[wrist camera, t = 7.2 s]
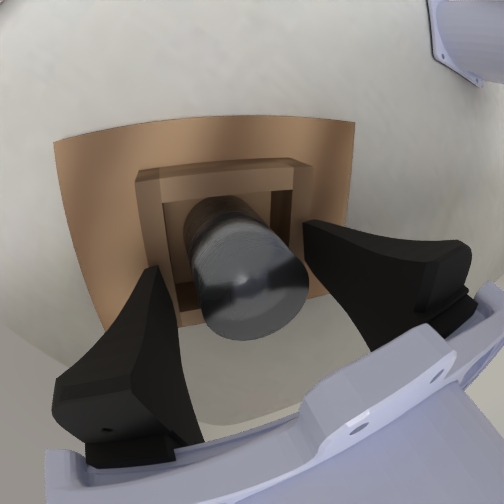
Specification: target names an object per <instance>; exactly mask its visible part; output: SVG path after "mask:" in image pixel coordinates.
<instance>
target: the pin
mask: <svg viewBox="0 0 504 504" xmlns="http://www.w3.org/2000/svg"><path fill="white" fill-rule="evenodd" d="M183 239H184V244H185V248H186V252H187V256H188V261H189V265H190V269H191V273H192V277H193V281H194V285H195V289H196V293H197V297H198V300H199V304H200V308H201V312H202V315H203V318H204V320H205V322H206V324H207V325H208V327H209V328H210V329H211V330H212V331H214V332H215V333H216V334H218V335H220V336H222V337H224V338H227V339H231V340H238V341H246V340H254V339H258V338H262V337H265V336H267V335H270V334H272V333H274V332H276V331H278V330H279V329H281V328H282V327H284V326H285V325H287V324H288V323H289V322H290V321H291V320H292V319H293V318H294V317H295V316H296V315H297V314H298V312H299V311H300V309H301V308H302V306H303V305H304V303H305V301H306V298H307V295H308V291H309V276H308V272H307V270H306V267H305V266H304V264H303V263H302V262H301V261H300V259H299V258H298V257H297V256H296V255H295V254H294V253H293V252H292V251H291V250H290V249H289V247H288V246H287V245H286V244H285V243H284V242H283V241H282V240H281V239H280V238H279V237H278V236H277V235H276V233H275V232H274V231H273V230H272V229H271V228H270V227H269V226H268V225H267V224H266V223H265V222H264V221H263V220H262V219H261V217H260V216H259V215H258V214H257V213H256V212H255V211H254V210H253V209H252V208H251V207H250V206H249V205H248V204H247V203H246V202H245V201H244V200H242V199H240V198H238V197H236V196H233V195H224V196H214V197H207V198H205V199H203V200H202V201H200V202H199V203H197V204H196V205H195V206H194V207H193V208H192V209H191V210H190V212H189V213H188V215H187V217H186V219H185V222H184V225H183Z"/></svg>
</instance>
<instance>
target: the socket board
mask: <svg viewBox="0 0 504 504" xmlns="http://www.w3.org/2000/svg"><path fill="white" fill-rule="evenodd" d="M354 133H355V122H348V121H340V120H331V119H320V118H308V117H291V116H213V117H196V118H184V119H173V120H164V121H156V122H148V123H141V124H134V125H128V126H122V127H117V128H111V129H106V130H101V131H96V132H92V133H87V134H83V135H79V136H75V137H71V138H67V139H63V140H59V141H56V142H53V144H54V152H55V160H56V167H57V173H58V179H59V185H60V190H61V196H62V201H63V205H64V210H65V214H66V218H67V222H68V226H69V230H70V234H71V238H72V241H73V245H74V248H75V252H76V255H77V258H78V262H79V265H80V268H81V271H82V274H83V277H84V280H85V283H86V285H87V288H88V291H89V294H90V296H91V299H92V301H93V304H94V307H95V309H96V312H97V314H98V316H99V319H100V321H101V323H102V326H103V328H104V330H105V332H106V331H107V330H108V329H109V327H110V326H111V325H112V323H113V322H114V321H115V319H116V318H117V316H118V315H119V313H120V312H121V310H122V308H123V307H124V305H125V303H126V302H127V300H128V299H129V297H130V295H131V293H132V291H133V290H134V288H135V286H136V284H137V282H138V280H139V278H140V276H141V274H142V273H143V271H144V269H146V268H149V267H152V266H155V265H158V266H159V269H160V271H161V274H162V277H163V279H164V282H165V284H166V287H167V289H168V291H169V294H170V296H171V299H172V301H173V305H174V310H175V314H176V319H177V327H178V328H179V327H185V326H190V325H196V324H202V323H206V322H205V320H204V318H203V315H202V312H201V308H200V304H199V300H198V297H197V293H196V289H195V285H194V281H193V277H192V273H191V269H190V265H189V261H188V256H187V252H186V248H185V244H184V239H183V225H184V222H185V219H186V217H187V215H188V213H189V212H190V210H191V209H192V208H193V207H194V206H195V205H196V204H197V203H199V202H200V201H202V200H203V199H205V198H207V197H214V196H224V195H233V196H236V197H238V198H240V199H242V200H244V201H245V202H246V203H247V204H248V205H249V206H250V207H251V208H252V209H253V210H254V211H255V212H256V213H257V214H258V215H259V216H260V217H261V219H262V220H263V221H264V222H265V223H266V224H267V225H268V226H269V227H270V228H271V229H272V230H273V231H274V232H275V233H276V235H277V236H278V237H279V238H280V239H281V240H282V241H283V242H284V243H285V244H286V245H287V246H288V247H289V249H290V250H291V251H292V252H293V253H294V254H295V255H296V256H297V257H298V258H299V259H300V261H301V262H302V263H303V264H304V266H305V267H306V270H307V272H308V276H309V291H308V295H307V298H306V299H310V298H314V297H318V296H322V295H326V294H330V293H329V292H328V290H327V289H326V288H325V287H324V286H323V285H322V284H321V283H320V281H319V280H318V279H317V278H316V277H315V276H314V274H313V273H312V271H311V270H310V268H309V267H308V265H307V264H306V262H305V260H304V244H303V228H302V222H305V221H309V220H313V219H316V220H321V221H326V222H329V223H333V224H336V225H340V226H343V227H344V224H345V218H346V211H347V203H348V195H349V187H350V178H351V169H352V158H353V147H354Z"/></svg>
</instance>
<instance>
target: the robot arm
mask: <svg viewBox="0 0 504 504" xmlns="http://www.w3.org/2000/svg"><path fill="white" fill-rule="evenodd" d="M428 6H429V13H430V21H431V30H432V41H433V54H434V57H435V59H436V60H438V61H440V62H441V63H443V64H445V65H446V66H448V67H449V68H451V69H453V70H454V71H456V72H457V73H459V74H460V75H462V76H463V77H465V78H466V79H468V80H469V81H470V82H472V83H473V84H475V85H476V86H477V87H479V88H482V86H483V80H486V81H491V82H496V83H501V84H504V1H500V0H453V1H449V0H428ZM302 228H303V244H304V260H305V262H306V264H307V265H308V267H309V268H310V270H311V271H312V273H313V274H314V276H315V277H316V278H317V279H318V280H319V281H320V283H321V284H322V285H323V286H324V287H325V288H326V289H327V290H328V292H329V293H330V294H331V295H332V296H333V297H334V298H335V299H336V301H337V302H338V303H339V304H340V305H341V306H342V307H343V309H344V310H345V311H346V312H347V314H348V315H349V317H350V318H351V320H352V321H353V323H354V324H355V326H356V327H357V329H358V330H359V332H360V334H361V335H362V337H363V339H364V340H365V342H366V344H367V345H368V347H369V349H370V351H371V353H369V354H367V355H365V356H364V357H362V358H360V359H358V360H356V361H354V362H352V363H350V364H348V365H346V366H344V367H342V368H340V369H338V370H336V371H335V372H333V373H332V374H330V375H328V376H327V377H325V378H323V379H322V380H320V381H319V382H318V383H317V384H316V385H315V386H314V387H313V388H311V389H310V390H309V391H308V392H307V393H306V394H305V396H304V399H303V401H302V403H301V405H300V407H299V412H296V413H294V414H291V415H289V416H286V417H284V418H281V419H278V420H276V421H273V422H270V423H268V424H265V425H262V426H259V427H256V428H253V429H250V430H247V431H244V432H240V433H238V434H234V435H230V436H227V437H224V438H220V439H216V440H213V441H208V442H205V441H204V439H203V436H202V433H201V431H200V428H199V425H198V422H197V419H196V416H195V413H194V410H193V406H192V403H191V400H190V396H189V393H188V389H187V386H186V382H185V378H184V374H183V369H182V364H181V356H180V347H179V337H178V327H177V319H176V314H175V310H174V305H173V301H172V299H171V296H170V294H169V291H168V289H167V287H166V284H165V282H164V279H163V277H162V274H161V271H160V269H159V266H158V265H155V266H152V267H149V268H146V269H144V271H143V273H142V274H141V276H140V278H139V280H138V282H137V284H136V286H135V288H134V290H133V291H132V293H131V295H130V297H129V299H128V300H127V302H126V303H125V305H124V307H123V308H122V310H121V312H120V313H119V315H118V316H117V318H116V319H115V321H114V322H113V323H112V325H111V326H110V327H109V329H108V330H107V331H106V332H105V333H104V335H103V336H102V337H101V338H100V339H99V340H98V341H97V343H96V344H95V345H94V346H93V347H92V348H91V349H90V350H89V351H88V352H87V353H86V354H85V355H84V356H83V357H82V358H81V359H80V360H79V361H78V362H76V363H75V364H74V365H73V366H72V367H70V368H69V369H68V370H67V371H65V372H64V373H63V374H62V375H61V376H59V377H58V378H56V382H55V388H54V395H53V402H52V415H53V417H54V419H55V420H56V422H57V423H58V424H59V425H60V426H61V427H63V428H64V429H65V430H67V431H68V432H69V433H71V434H72V435H73V436H75V437H76V438H78V439H79V440H81V441H82V442H84V443H85V452H86V453H85V455H86V458H85V457H84V456H82V455H81V454H79V453H77V452H75V451H72V450H66V449H65V450H64V449H58V450H57V449H47V450H45V490H46V504H504V439H503V438H502V436H501V435H500V434H499V433H498V431H497V430H496V429H495V427H494V426H493V425H492V424H491V422H490V421H489V420H488V419H487V418H486V416H485V415H484V414H483V413H482V411H480V409H479V408H478V407H477V406H476V404H475V403H474V402H473V401H472V400H471V399H470V397H469V396H468V395H467V394H466V393H465V392H464V391H465V389H467V388H468V386H469V385H470V384H471V383H472V382H473V381H474V380H475V379H476V378H477V377H478V376H479V374H480V373H481V372H482V371H483V370H484V369H485V368H486V366H487V365H488V364H489V363H490V362H491V361H492V359H493V358H494V357H495V356H496V355H497V353H498V352H499V351H500V350H501V348H502V347H503V346H504V291H503V290H502V289H501V288H500V287H498V286H497V285H496V284H495V283H493V282H492V281H491V280H489V281H488V282H487V283H485V284H484V285H483V286H482V287H481V288H480V289H479V290H478V292H477V293H476V295H475V297H474V299H472V298H471V297H470V296H469V295H467V293H468V292H469V289H468V288H467V287H466V286H464V283H465V280H466V277H467V275H468V271H469V268H470V265H471V260H472V252H471V249H470V247H469V246H468V245H466V244H464V243H463V242H461V241H459V240H443V241H416V240H404V239H396V238H389V237H384V236H378V235H373V234H369V233H365V232H361V231H357V230H354V229H350V228H347V227H343V226H340V225H336V224H333V223H329V222H326V221H321V220H316V219H313V220H309V221H305V222H302Z"/></svg>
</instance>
